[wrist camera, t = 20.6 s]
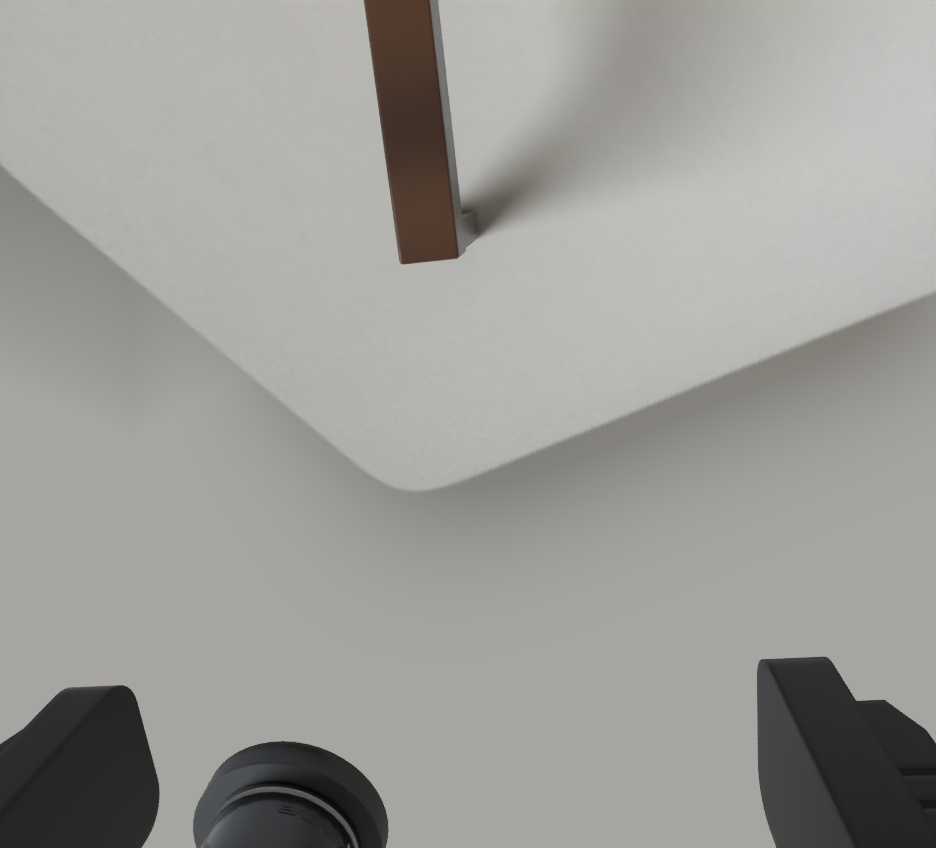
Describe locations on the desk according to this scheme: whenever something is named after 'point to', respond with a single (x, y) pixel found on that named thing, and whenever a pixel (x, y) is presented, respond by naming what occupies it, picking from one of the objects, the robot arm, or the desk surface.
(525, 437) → the desk surface
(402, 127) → the brown disc on stem
